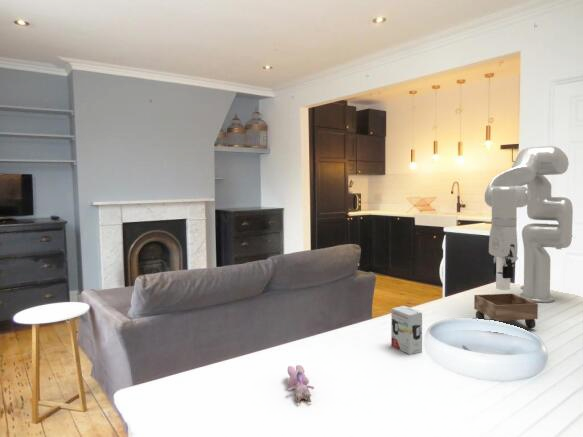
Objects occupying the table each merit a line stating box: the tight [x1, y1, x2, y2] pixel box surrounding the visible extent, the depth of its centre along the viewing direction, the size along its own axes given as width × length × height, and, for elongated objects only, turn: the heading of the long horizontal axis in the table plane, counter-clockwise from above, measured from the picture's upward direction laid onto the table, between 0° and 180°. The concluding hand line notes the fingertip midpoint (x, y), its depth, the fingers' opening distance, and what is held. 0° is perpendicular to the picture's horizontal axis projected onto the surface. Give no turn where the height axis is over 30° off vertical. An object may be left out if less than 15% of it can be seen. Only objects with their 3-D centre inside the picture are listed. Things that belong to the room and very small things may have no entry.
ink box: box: [390, 305, 423, 355], centre depth 124 cm, size 9×5×12 cm, turn 25°
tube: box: [495, 255, 511, 291], centre depth 143 cm, size 4×4×15 cm
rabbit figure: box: [287, 364, 315, 404], centre depth 100 cm, size 6×6×15 cm
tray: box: [473, 293, 539, 329], centre depth 143 cm, size 14×14×9 cm
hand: (503, 275), depth 143 cm, fingers closed on tube, 4 cm apart
